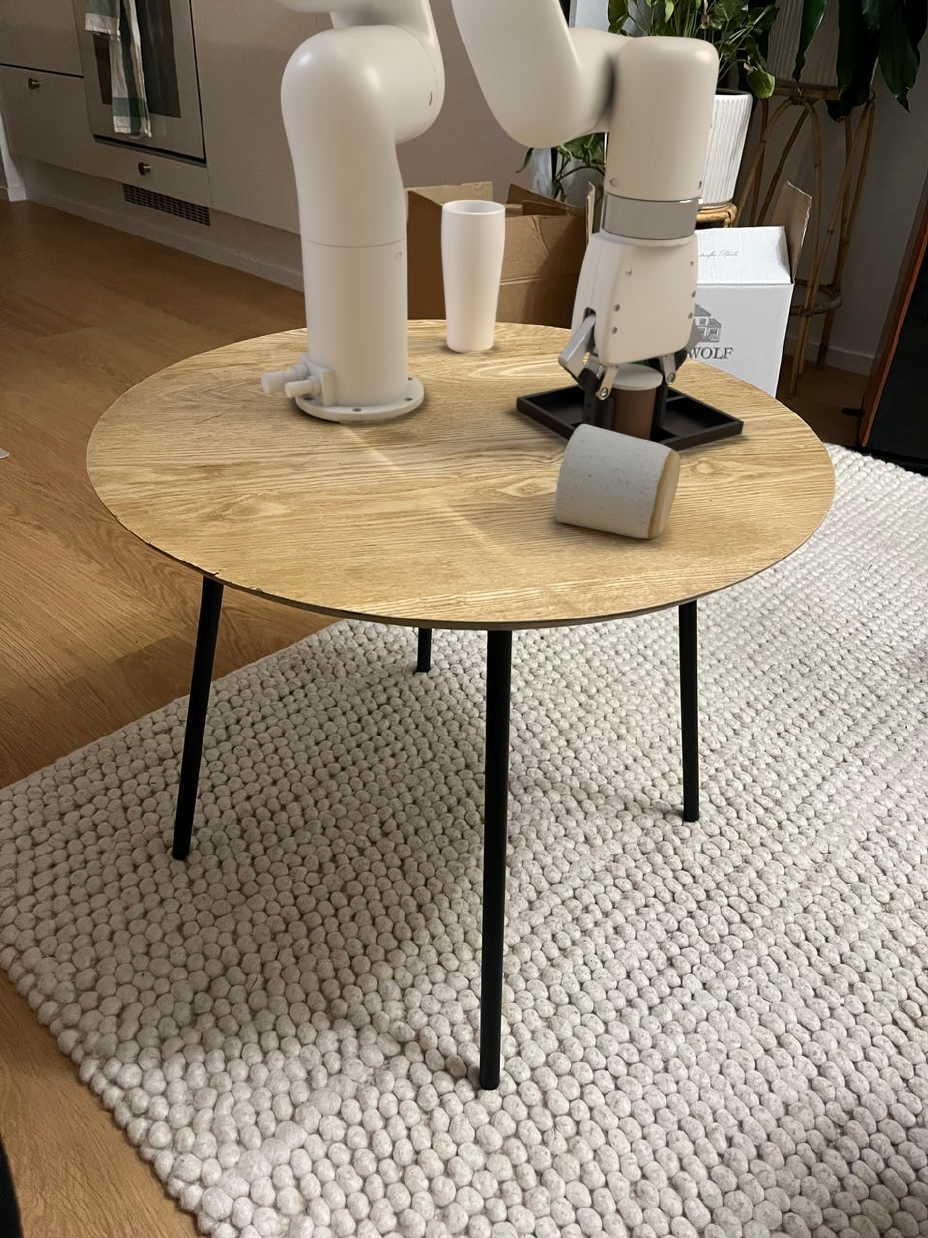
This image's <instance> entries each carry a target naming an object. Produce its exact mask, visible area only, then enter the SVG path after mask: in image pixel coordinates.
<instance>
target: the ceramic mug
mask: <svg viewBox="0 0 928 1238" xmlns="http://www.w3.org/2000/svg"><path fill="white" fill-rule="evenodd" d="M681 462H682V461H681V457H680V454H679V453H678V452H676V451H675V450H673V449H671V448H669V447H666V446H664V445H662V444H659V443H656V442H652V441H648V440H643V439H639V438H635V437H631V436H627V435H624V434H620V433H617V432H613V431H609V430H606V429H602V428H598V427H594V426H591V425H587V424H581V425H579V427H577V429H576V430H575V432H574V433H573V435H572V437H571V438H570V440H569V441H568V443H567V444H566V448H565V450H564V454H563V457H562V461H561V464H560V468H559V472H558V477H557V482H556V489H555V496H554V514H555V515H554V516H555V518H556V520H557V521H558V522H559V523H563V524H566V525H572V526H576V527H581V528H586V529H590V530H595V531H601V532H607V533H612V534H616V535H620V536H625V537H629V538H634V539H646V540H647V539H648V540H652V539H655V538H657V537H659V536H660V535H661V534H662V533H663V531H664V530H665V528H666V524H667V522H668V519H669V517H670V513H671V510H672V507H673V505H674V500H675V496H676V492H677V488H678V484H679V479H680V472H681V467H682V466H681V464H682V463H681Z"/></svg>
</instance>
